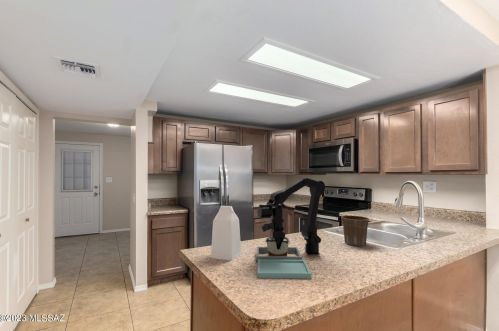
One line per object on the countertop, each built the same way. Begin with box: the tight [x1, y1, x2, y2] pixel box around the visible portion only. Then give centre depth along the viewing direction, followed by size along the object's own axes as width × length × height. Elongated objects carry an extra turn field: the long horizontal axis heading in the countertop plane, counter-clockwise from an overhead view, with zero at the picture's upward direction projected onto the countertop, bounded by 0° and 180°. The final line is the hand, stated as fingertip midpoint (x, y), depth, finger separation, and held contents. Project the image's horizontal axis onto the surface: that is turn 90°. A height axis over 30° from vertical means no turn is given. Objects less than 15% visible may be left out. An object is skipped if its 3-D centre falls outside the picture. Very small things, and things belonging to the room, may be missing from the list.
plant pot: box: [340, 214, 370, 247], centre depth 156 cm, size 16×16×16 cm
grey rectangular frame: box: [255, 246, 303, 264], centre depth 131 cm, size 22×17×3 cm
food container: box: [265, 235, 291, 256], centre depth 131 cm, size 12×6×10 cm, turn 76°
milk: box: [210, 205, 242, 261], centre depth 134 cm, size 12×12×26 cm
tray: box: [256, 259, 312, 280], centre depth 113 cm, size 22×17×2 cm
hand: (277, 247), depth 131 cm, fingers open, 6 cm apart
